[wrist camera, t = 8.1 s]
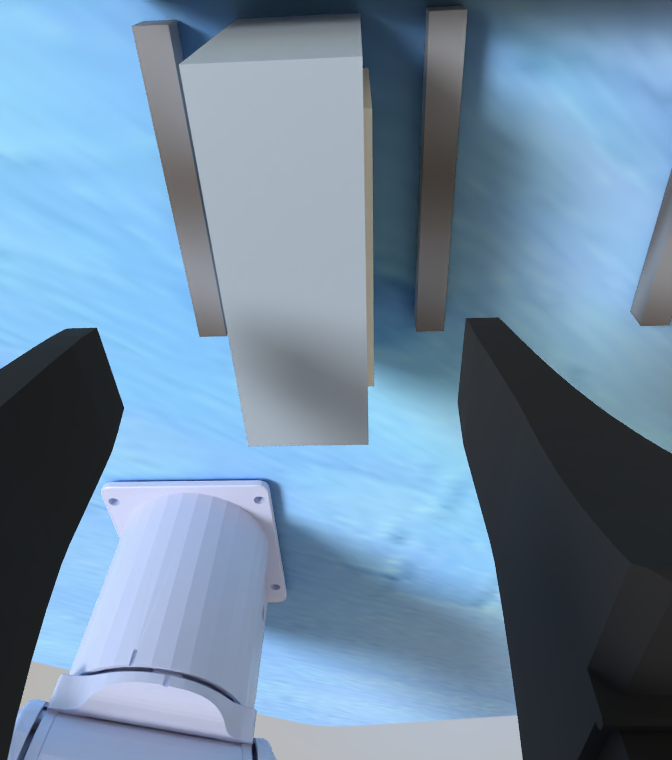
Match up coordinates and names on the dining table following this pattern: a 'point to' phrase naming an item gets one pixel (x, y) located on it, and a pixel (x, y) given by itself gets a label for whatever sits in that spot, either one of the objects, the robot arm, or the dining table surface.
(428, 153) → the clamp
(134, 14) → the dining table surface
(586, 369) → the dining table surface
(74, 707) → the robot arm
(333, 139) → the grey rectangular block
